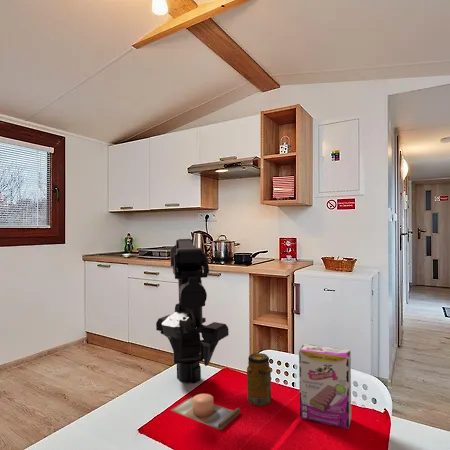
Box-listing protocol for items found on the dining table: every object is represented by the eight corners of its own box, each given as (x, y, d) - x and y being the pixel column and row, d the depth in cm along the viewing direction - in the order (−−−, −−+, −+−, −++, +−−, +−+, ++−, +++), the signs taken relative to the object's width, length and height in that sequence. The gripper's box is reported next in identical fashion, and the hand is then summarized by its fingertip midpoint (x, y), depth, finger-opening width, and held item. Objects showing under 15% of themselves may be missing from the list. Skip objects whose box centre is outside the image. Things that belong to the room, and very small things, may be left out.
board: (170, 413, 84) (170, 405, 84) (191, 399, 91) (191, 391, 91) (220, 433, 76) (220, 424, 76) (240, 416, 82) (239, 408, 82)
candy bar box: (299, 420, 80) (297, 349, 80) (303, 409, 85) (302, 342, 85) (350, 431, 76) (348, 356, 76) (352, 419, 80) (350, 348, 80)
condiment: (259, 393, 93) (258, 349, 93) (283, 406, 87) (282, 358, 87) (239, 403, 89) (238, 356, 89) (263, 417, 82) (262, 366, 82)
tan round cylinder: (188, 412, 83) (188, 400, 83) (201, 403, 87) (201, 391, 87) (205, 419, 80) (204, 406, 80) (217, 409, 84) (217, 397, 84)
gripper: (139, 301, 84) (141, 365, 84) (201, 311, 74) (203, 384, 74) (170, 292, 93) (171, 350, 93) (229, 300, 83) (230, 364, 83)
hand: (191, 361), depth 86 cm, fingers open, 9 cm apart
